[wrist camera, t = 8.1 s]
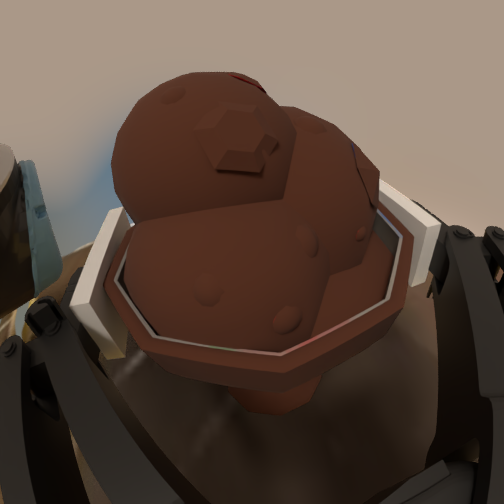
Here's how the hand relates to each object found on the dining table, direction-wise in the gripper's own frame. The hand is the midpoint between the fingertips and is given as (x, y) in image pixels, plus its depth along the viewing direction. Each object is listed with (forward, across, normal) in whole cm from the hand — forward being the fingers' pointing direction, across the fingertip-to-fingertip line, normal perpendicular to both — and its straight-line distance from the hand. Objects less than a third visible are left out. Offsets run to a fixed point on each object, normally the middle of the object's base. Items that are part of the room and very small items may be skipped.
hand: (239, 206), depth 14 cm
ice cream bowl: (-4, 0, -9) cm, 10 cm away
